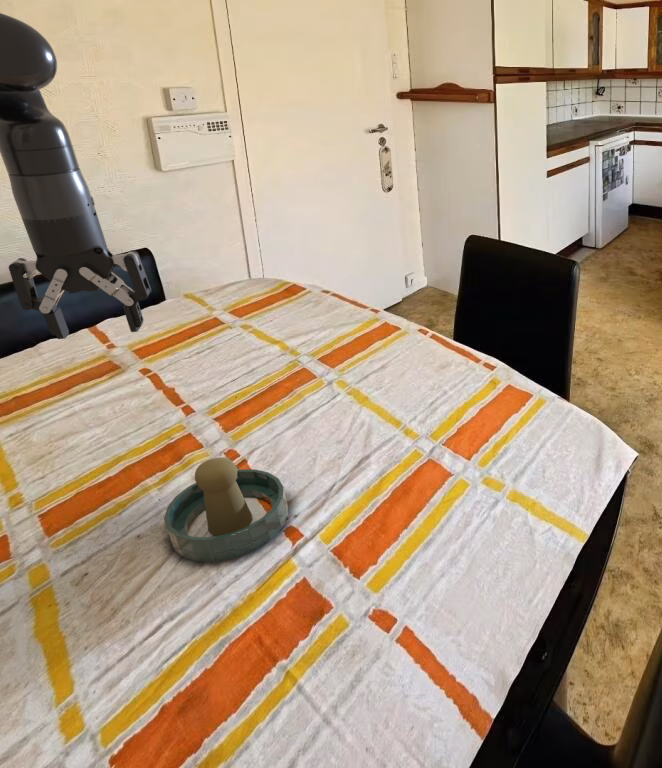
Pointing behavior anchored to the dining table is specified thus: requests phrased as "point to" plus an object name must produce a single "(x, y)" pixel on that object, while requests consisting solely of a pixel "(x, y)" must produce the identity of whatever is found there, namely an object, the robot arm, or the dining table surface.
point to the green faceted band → (236, 542)
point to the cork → (222, 496)
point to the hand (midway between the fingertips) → (100, 333)
